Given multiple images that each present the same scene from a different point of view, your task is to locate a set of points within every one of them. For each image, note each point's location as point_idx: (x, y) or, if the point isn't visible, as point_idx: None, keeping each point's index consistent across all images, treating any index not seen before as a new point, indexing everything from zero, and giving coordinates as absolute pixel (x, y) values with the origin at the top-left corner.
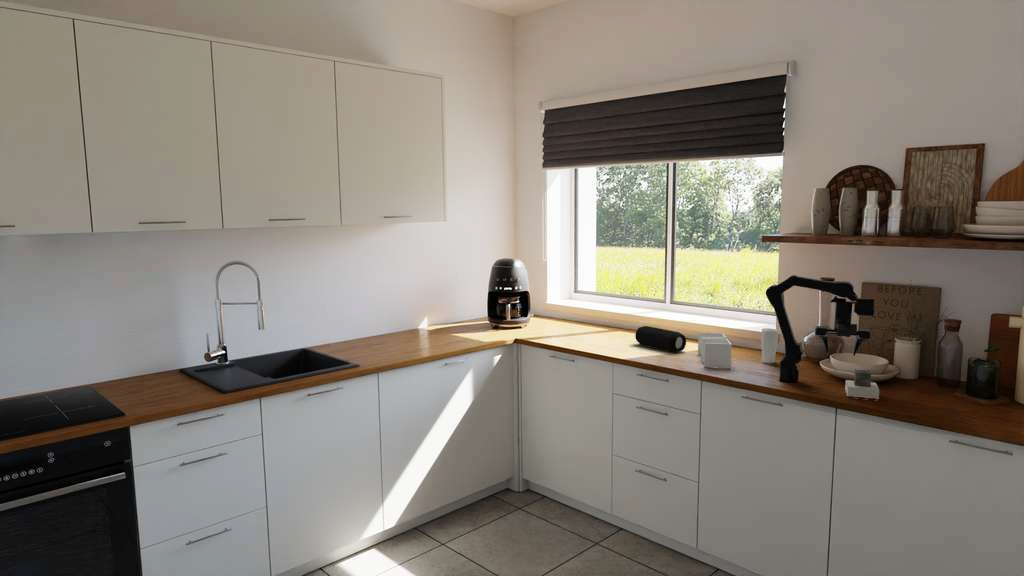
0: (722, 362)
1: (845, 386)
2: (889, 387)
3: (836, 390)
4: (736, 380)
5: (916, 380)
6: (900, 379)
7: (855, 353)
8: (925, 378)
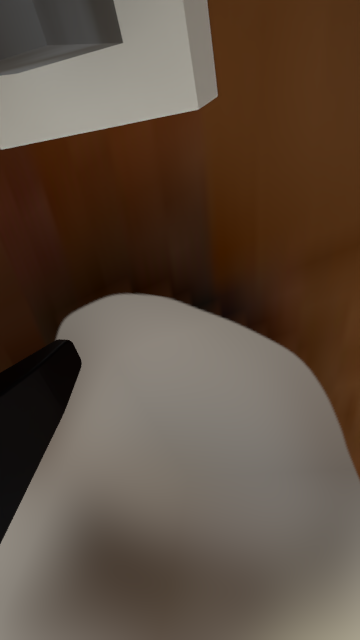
0: None
1: (210, 94)
2: (44, 295)
3: (284, 47)
4: None
5: None
6: None
7: (33, 354)
8: None
